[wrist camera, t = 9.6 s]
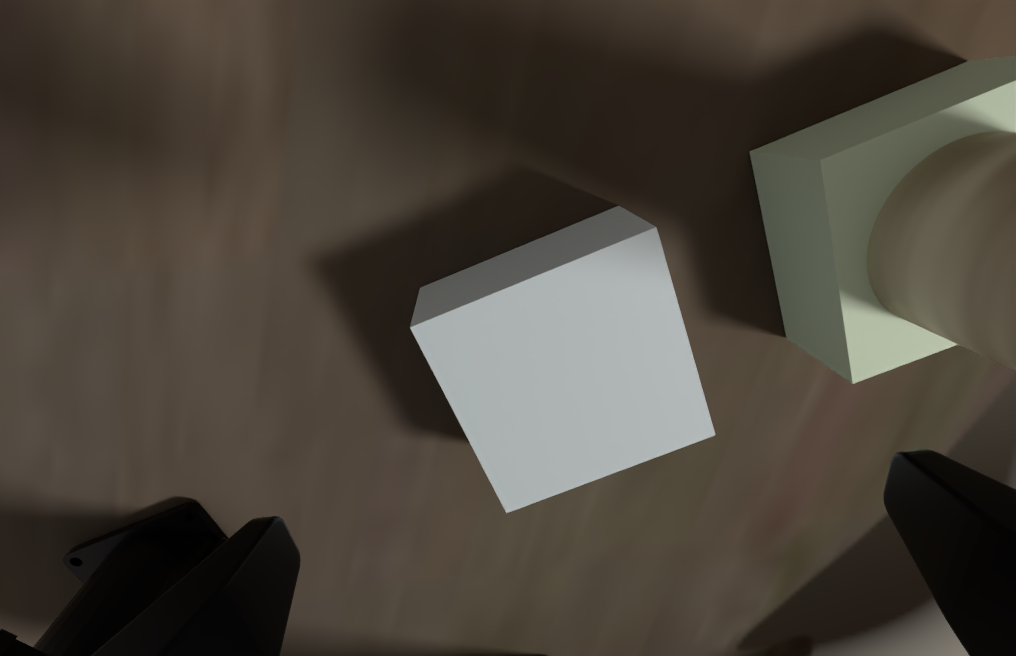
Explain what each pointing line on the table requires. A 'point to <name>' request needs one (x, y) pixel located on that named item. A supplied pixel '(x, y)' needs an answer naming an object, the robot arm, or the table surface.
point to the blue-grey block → (565, 357)
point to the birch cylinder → (953, 245)
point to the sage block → (863, 209)
